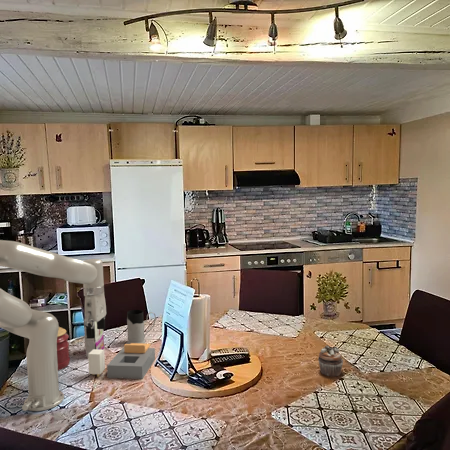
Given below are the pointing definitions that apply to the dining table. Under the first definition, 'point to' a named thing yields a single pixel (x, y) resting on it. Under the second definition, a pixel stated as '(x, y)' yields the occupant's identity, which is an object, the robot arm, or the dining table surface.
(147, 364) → the socket
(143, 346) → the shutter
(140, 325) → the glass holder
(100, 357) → the block
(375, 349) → the dining table surface
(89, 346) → the candy bar box
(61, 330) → the canister
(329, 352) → the cupcake
